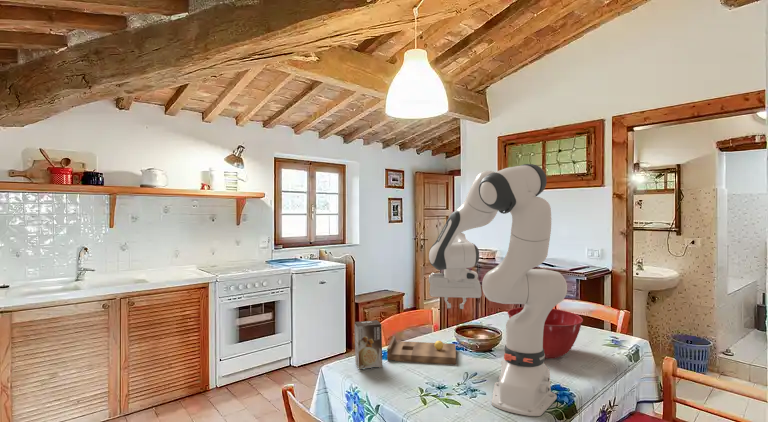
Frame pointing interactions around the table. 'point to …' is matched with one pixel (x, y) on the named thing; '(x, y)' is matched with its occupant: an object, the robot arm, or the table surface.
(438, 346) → the ball
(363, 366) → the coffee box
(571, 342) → the mixing bowl
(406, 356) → the tray
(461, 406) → the table surface
